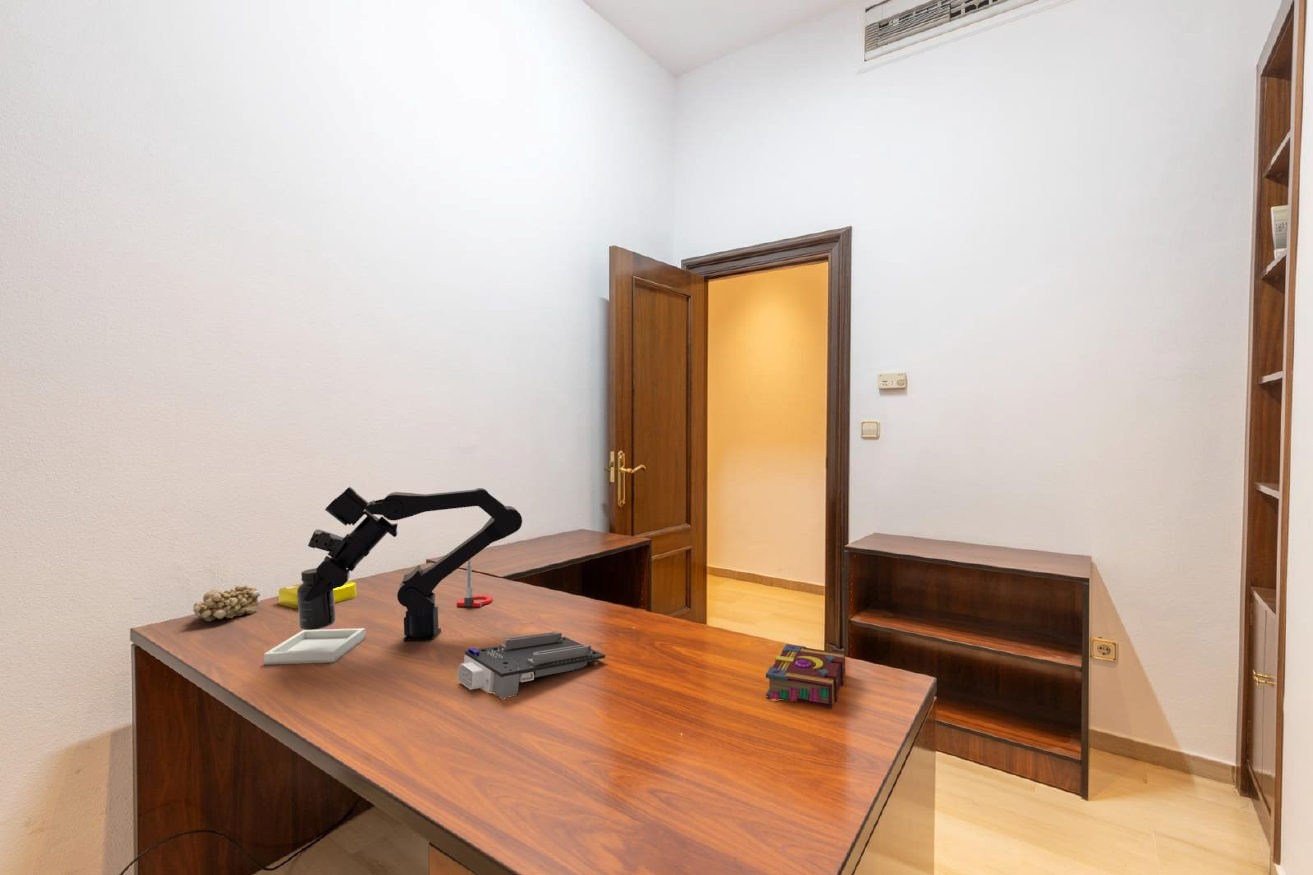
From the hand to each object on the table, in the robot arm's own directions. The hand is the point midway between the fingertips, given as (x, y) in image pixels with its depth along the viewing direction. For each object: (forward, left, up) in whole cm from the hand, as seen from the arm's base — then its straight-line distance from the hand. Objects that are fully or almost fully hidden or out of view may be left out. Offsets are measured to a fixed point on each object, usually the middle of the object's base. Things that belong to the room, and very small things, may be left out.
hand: (308, 595), depth 129 cm
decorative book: (-101, +24, -13) cm, 105 cm away
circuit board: (-50, +14, -13) cm, 53 cm away
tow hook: (-26, -32, -12) cm, 44 cm away
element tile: (+20, -39, -13) cm, 46 cm away
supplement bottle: (-1, -1, -7) cm, 7 cm away
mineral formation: (+37, -25, -12) cm, 46 cm away
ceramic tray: (-1, 0, -12) cm, 12 cm away
